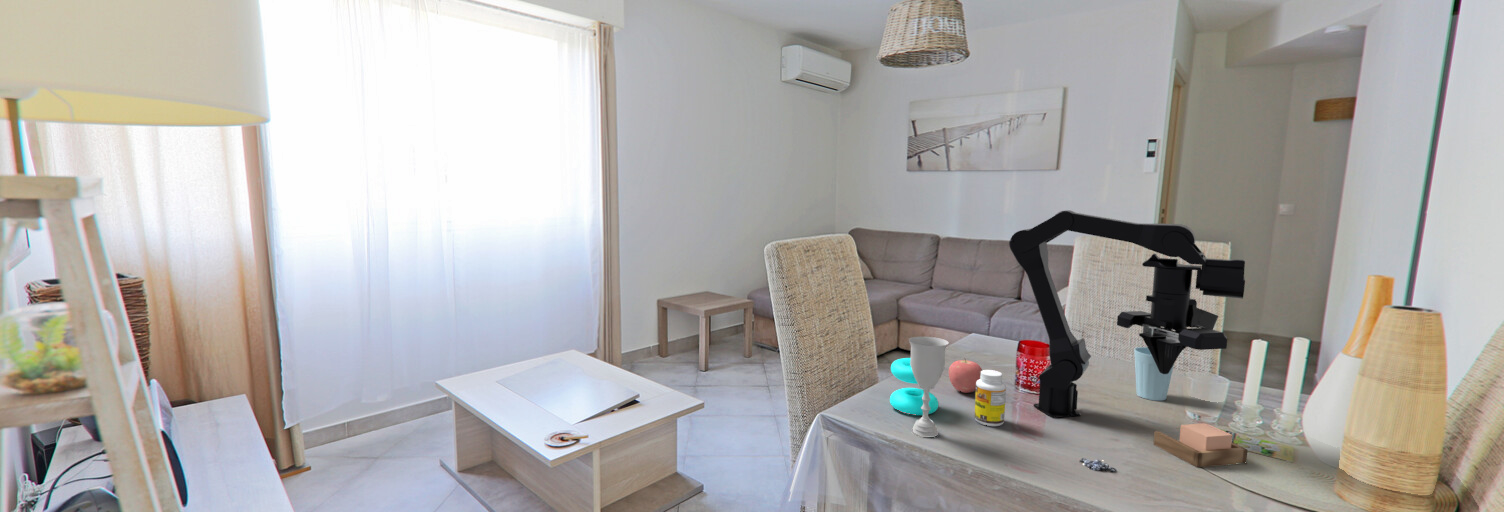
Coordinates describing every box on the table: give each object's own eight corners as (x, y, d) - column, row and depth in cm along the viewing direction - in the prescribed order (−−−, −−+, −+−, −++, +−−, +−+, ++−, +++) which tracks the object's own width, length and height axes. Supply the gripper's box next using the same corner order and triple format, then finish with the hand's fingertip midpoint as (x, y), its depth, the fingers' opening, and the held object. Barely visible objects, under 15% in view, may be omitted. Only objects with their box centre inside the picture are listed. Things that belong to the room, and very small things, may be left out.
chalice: (945, 428, 113) (948, 338, 111) (944, 442, 107) (948, 347, 105) (906, 423, 115) (909, 335, 113) (903, 436, 109) (906, 344, 107)
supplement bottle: (969, 416, 119) (971, 368, 118) (996, 416, 119) (998, 368, 118) (981, 427, 113) (983, 377, 112) (1009, 427, 114) (1011, 376, 112)
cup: (1141, 388, 136) (1145, 345, 134) (1178, 398, 129) (1183, 353, 128) (1123, 394, 132) (1127, 349, 131) (1161, 405, 125) (1165, 358, 124)
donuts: (881, 361, 123) (910, 353, 129) (879, 406, 124) (909, 396, 130) (920, 373, 115) (949, 364, 121) (918, 421, 116) (947, 410, 122)
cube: (1203, 464, 98) (1206, 436, 98) (1178, 451, 103) (1180, 424, 103) (1229, 462, 99) (1232, 435, 99) (1202, 449, 104) (1205, 423, 103)
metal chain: (1076, 457, 103) (1076, 447, 103) (1130, 467, 98) (1129, 456, 98) (1068, 471, 98) (1068, 461, 98) (1124, 483, 93) (1124, 471, 92)
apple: (948, 395, 131) (949, 361, 130) (947, 384, 138) (948, 352, 137) (983, 398, 129) (985, 364, 128) (980, 388, 136) (982, 354, 135)
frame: (1196, 467, 97) (1198, 453, 97) (1153, 444, 106) (1154, 431, 106) (1246, 463, 99) (1247, 449, 98) (1199, 441, 107) (1200, 428, 107)
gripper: (1259, 300, 99) (1250, 388, 101) (1167, 283, 118) (1160, 357, 119) (1202, 302, 98) (1193, 391, 99) (1117, 284, 116) (1112, 359, 118)
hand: (1164, 373), depth 109 cm, fingers closed
